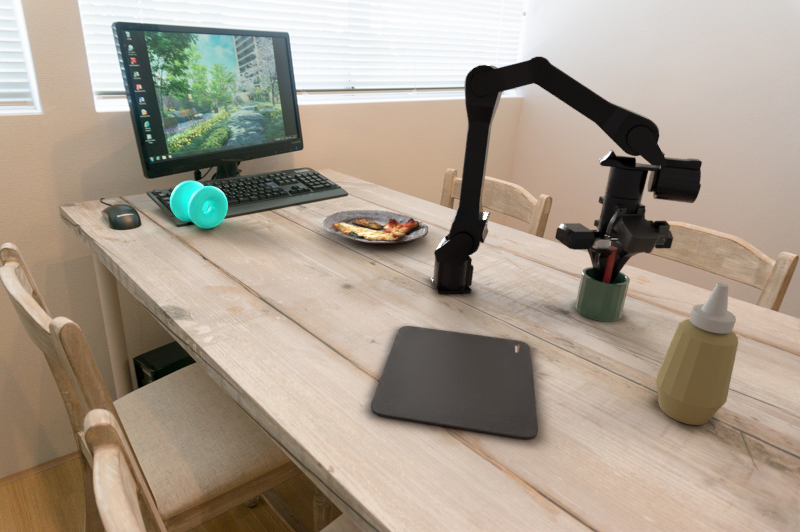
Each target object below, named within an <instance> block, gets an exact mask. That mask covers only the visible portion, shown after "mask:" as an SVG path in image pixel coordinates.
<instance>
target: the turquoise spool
mask: <svg viewBox="0 0 800 532" xmlns="http://www.w3.org/2000/svg"><path fill="white" fill-rule="evenodd" d="M169 207H170V210H171V212H172V214H173V215H174V216H175V218H177V219H178V220H180V221H181V222H185V223H193V224H194V225H195V226H197V227H199V228H201V229H207V230H209V229H213V228H215V227H217V226H219V225H220V224H221V223H222V222H223V221H224V219H225V218H226V216H227V214H228V209H229V203H228V198H227V196H226V194H225V193H224V191H222V190H221V189H220V188H218V187H217V186H214V185H204V184H203V183H201V182H199V181H197V180H190V179H189V180H185V181H182V182H180V183H178V185H176V186H175V187H174V189H173V190H172V192H171V195H170V198H169Z"/></svg>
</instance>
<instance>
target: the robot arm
mask: <svg viewBox="0 0 800 532" xmlns="http://www.w3.org/2000/svg"><path fill="white" fill-rule="evenodd" d="M533 84H534V85H537V86H538V87H540V88H541V89H543V90H544V91H546V92H547V93H549V94H550V95H552V96H554V98H557V99H558V100H559V101H561V102H563V103H564V104H566V105H567V106H569V107H570V108H572V109H573V110H575V111H577V112H578V113H579V114H581V115H582V116H584V117H586V118H587V119H588V120H589V121H591V122H592V123H594V124H596V125H597V126H598V127H599V128H600V129H601V130H602V131H603V133H605V134H606V136H608V137H609V138H610V139H611V141H613V142H614V143H615V144H616V145H617V146H618V147H619V148H620V149H621V150H622V151H623V152H624V153H625V154H627V155H629V156H626V155H617V154H616V153H615V151H614V150H613V149H610V150H609V151H608V152H607V153H606V154H605V155H603V156H601V157H599V159H598V162H599V165H600V166H601V167H609V171H608V176H607V181H606V186H605V190H604V195H603V196H599V197H598V203H599V204H601V209H600V214H599V219H594V223H593V226H594V227H596V228H597V229H590V228H589V227H587V226H585V225H583V224H582V223H580V222H579V223H577V222H576V223H575V222H574V223H573V222H571V223H569V222H568V223H567V222H566V223H564V222H563V223H560V224H559V226H558V227H557V228H556V230H555V231H556V232H555V237H554V238H555V240H557V241H558V242H559V243H561V244H562V245H564V246H565V247H566V248H567V249H570V250H574V251H576V250H584V251H585V250H587V253H588V255H589V258H590V261H591V262H590V263H591V267H593V270H594V274H595V278H596V280H597V281H600V282H602V280H603V277H604V272H605V268H606V263H607V258H608V256H609V255H611V254H612V253H613V251H612V250H611V249H609V246H614V247H616V248H617V254H616V258H615V262H614V267H613V271H612V276H611V280H610V283H612V282H613V281H614V280H615V278H616V277H617V275H618V274H619V272H621V271H622V269H623V268H624V266H625V265H626V264H627V262H628V261H629V260H630V259H631V258H632V257H634V256H636V255H638V254H643V253H645V254H651V253H652V252H653V250H654V248H655V249H656V250H657V249H661V250H662V249H671V248H672V245H673V242H674V235H673V233H672V231H671V230H670V228H671V225H670V224H669V222H668V221H666V220H654V221H653V220H648V219H647V218H646V212H647V211H646V210H647V209H646V205H645V204H642V200H643V195H644V191H645V189H646V188H645V187H646V183H647V192H648V193H652V198H653V199H654V200H662V201H669V202H671V201H672V202H677V203H678V202H679V203H687V204H694V203H695V202H696V200H697V199H698V196H699V194H700V191H701V187H702V184H701V180H702V179H701V178H702V171H701V169H702V164H703V162H702V161H701V160H700V159H699V158H678V157H669V156H668V157H667V156H665V154H666V153H665V152H664V151H662V150H661V147H660V146H659V144H658V142H659V139H660V130H659V129H660V128H659V127H658V125H657V124H656V123H655V122H654V121H653V120H651V119H650V118H648V117H647V116H645V115H643V114H641V113H639V112H636V111H634V110H631V109H628V108H626V107H624V106H620V105H618V104H617V103H613V102H611V101H609V100H607V99H606V98H604V97H603V96H601V95H599V94H598V93H596V92H595V91H593V90H592V89H591V88H589V87H588V86H586V85H584V84H583V83H581V82H580V81H578V80H576V79H575V78H574V77H572V76H571V75H569V73H566V72H564V71H563V70H561V69H560V68H559V67H557V66H555V65H554V64H553V63H551V62H550V61H549V59H547V58H546V57H544V56H534V57H531V58H530V59H528V60H524V61H520V62H517V63H516V62H515V63H512V64H508V65H505V66H500V67H497V66H495V65H492V64H481V65H480V64H479V65H477V66H475V67H473V68H472V69H471V70H469V71H468V73H467V75H466V76H465V78H464V101H465V110H466V117H467V132H466V138H465V139H466V141H465V149H464V157H463V167H462V175H461V183H460V184H461V185H460V192H459V193H460V194H459V202H458V205H457V209H456V211H455V214H454V217H453V220H452V223H451V226H450V230H449V232H448V233H447V235H445V236H444V237H443V238H442V239H441V241H440V242H439V244H438V246H437V247H436V248H435V250H434V252H433V254H434V265H433V277H430V282H431V283H432V285H433V287H434V290H435V291H436V293H437V294H440V295H442V294H443V295H444V294H446V295H447V294H470V293H472V288H471V287H472V285H473V276H474V265H473V264H472V263H473V259H472V257H471V255H473V254H475V253H476V252H477V251H478V249H479V247H480V245H481V244H484V242H485V241H486V238H487V236H488V234H489V228H488V223H489V219H490V216H491V212H490V211H484V208H483V194H484V189H485V188H484V187H485V181H486V179H485V178H486V173H487V172H486V171H487V166H488V165H487V164H488V157H489V149H490V141H491V133H492V125H493V121H494V118H495V116H496V113H497V110H498V107H499V104H500V101H501V97H502V95H503V92H505V91H509V90H513V89H518V88H521V87H524V86H529V85H533ZM639 156H640V157H642V158H643V160H645V161H646V162H647V163H648V164H647V163H641V162H637V158H636V157H639ZM649 172H650V173H649ZM648 175H649V177H648ZM647 178H648V179H647ZM647 180H648V182H647Z"/></svg>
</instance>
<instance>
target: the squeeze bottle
mask: <svg viewBox="0 0 800 532" xmlns="http://www.w3.org/2000/svg"><path fill="white" fill-rule="evenodd" d="M728 301H729V285H728V284H727V283H724V282H717V283H716V285H715V287H714V288H713V289H712V291H711V293H710V294H709V296H708V298H707V299H706V300H705V302H704V304H696V305H693V306H692V308H691V312H690V314H689V318H687V319H684V320H682V321H680V322H678V325H677V327H676V329H675V332H674V334H673V336H672V338H671V341H670V343H669V346H668V348H667V351H666V352H665V356H664V358H663V360H662V363H661V365H660V367H659V369H658V371H657V375H656V379H655V384H656V392H657V401H658V406H659V408H660V410H661V411H662V412H663V413H664V414H665V415H666V416H668V417H669V418H671V419H673V420H675V421H677V422H679V423H683V424H686V425H690V426H691V425H693V426H700V425H705V424H706V423H707V422H709V421H710V420H711V418H712V417H714V416H715V415H716V413H717V412H718V411H719V410H720V409H721V408H722V407H723V406H724V405H725V404H726V403H727V400H728V394H729V390H730V385H731V384H730V383H731V380H732V376H733V370H734V365H735V361H736V357H737V352H738V350H737V349H738V346H739V337H738V336H737V334H736V333H734V331H733V330H734V327H735V324H736V321H737V317H736V316H735V315H734V313H732V312H730V311H729V310H728V304H729V302H728Z"/></svg>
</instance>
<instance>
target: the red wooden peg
mask: <svg viewBox="0 0 800 532" xmlns="http://www.w3.org/2000/svg"><path fill="white" fill-rule="evenodd" d="M609 249H611V250H612V251H613V253H612V254H611V255H609V256H608V258H607V263H606V268H605V272H604V277H603V280H602V282H605V283H610V280H611V276H612V271H613V267H614V262H615V258H616V254H617V248H616V247H614V246H610V245H609Z"/></svg>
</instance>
